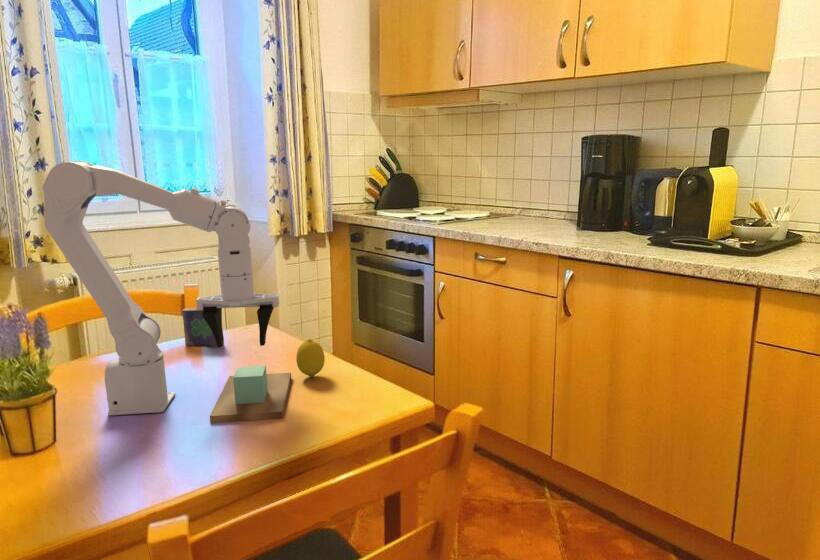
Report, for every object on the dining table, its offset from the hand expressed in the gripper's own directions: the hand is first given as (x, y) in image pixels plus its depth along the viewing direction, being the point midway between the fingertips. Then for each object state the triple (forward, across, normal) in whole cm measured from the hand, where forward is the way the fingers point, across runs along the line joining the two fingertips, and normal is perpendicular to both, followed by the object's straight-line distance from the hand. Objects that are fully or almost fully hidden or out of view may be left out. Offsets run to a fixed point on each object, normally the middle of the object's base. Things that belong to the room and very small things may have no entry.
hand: (241, 344), depth 110 cm
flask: (+10, -14, +29) cm, 34 cm away
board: (+9, +2, -3) cm, 10 cm away
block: (+8, +2, -6) cm, 10 cm away
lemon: (+10, +12, +6) cm, 16 cm away
